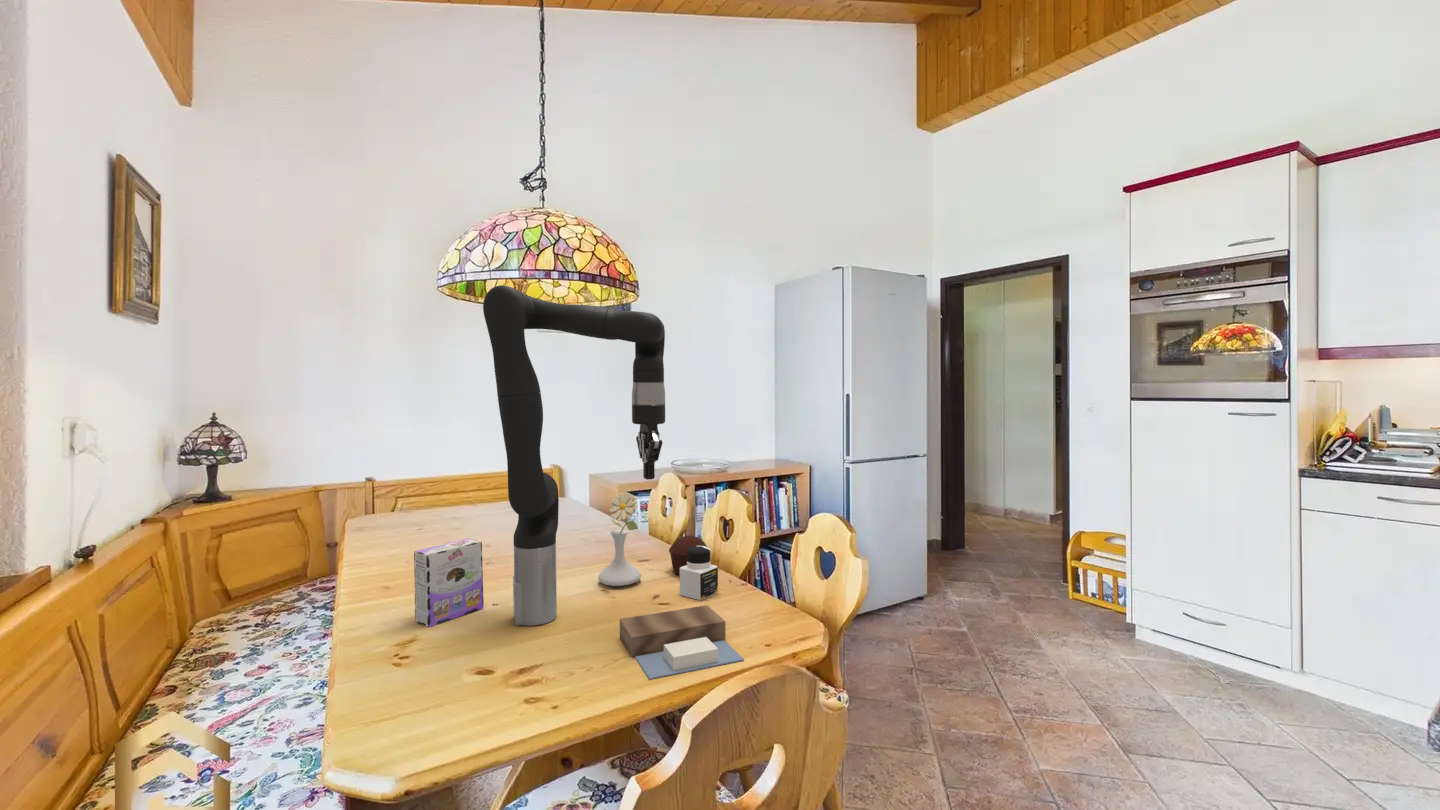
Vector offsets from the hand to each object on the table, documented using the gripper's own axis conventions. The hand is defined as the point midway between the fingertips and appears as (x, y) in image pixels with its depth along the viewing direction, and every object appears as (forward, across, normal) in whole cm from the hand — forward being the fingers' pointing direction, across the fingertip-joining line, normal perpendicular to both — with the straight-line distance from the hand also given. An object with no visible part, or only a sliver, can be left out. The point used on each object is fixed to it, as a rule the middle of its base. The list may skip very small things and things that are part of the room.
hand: (649, 478), depth 137 cm
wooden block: (+32, +13, +1) cm, 35 cm away
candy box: (+32, -20, -42) cm, 57 cm away
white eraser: (+29, +24, +1) cm, 38 cm away
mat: (+32, +23, +1) cm, 40 cm away
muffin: (+32, -28, +20) cm, 47 cm away
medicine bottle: (+32, -10, +16) cm, 37 cm away
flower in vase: (+32, -26, 0) cm, 41 cm away
